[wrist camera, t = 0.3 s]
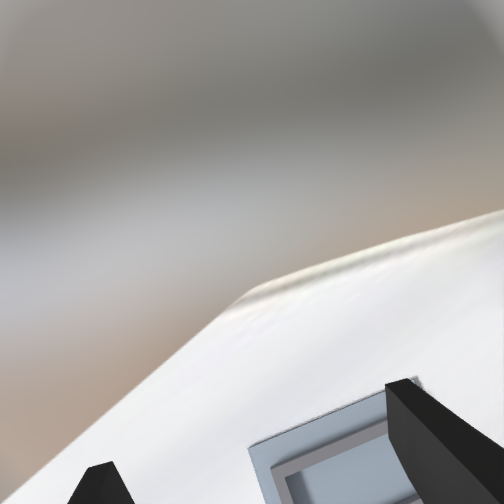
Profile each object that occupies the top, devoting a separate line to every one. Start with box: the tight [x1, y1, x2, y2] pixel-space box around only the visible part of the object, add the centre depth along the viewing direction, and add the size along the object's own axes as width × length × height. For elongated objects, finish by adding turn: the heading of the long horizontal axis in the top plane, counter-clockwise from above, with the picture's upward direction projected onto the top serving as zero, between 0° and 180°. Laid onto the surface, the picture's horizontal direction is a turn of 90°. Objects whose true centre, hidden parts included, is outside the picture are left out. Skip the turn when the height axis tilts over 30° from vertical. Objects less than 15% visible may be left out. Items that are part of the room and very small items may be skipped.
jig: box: [248, 380, 424, 504], centre depth 34 cm, size 12×18×2 cm, turn 111°
